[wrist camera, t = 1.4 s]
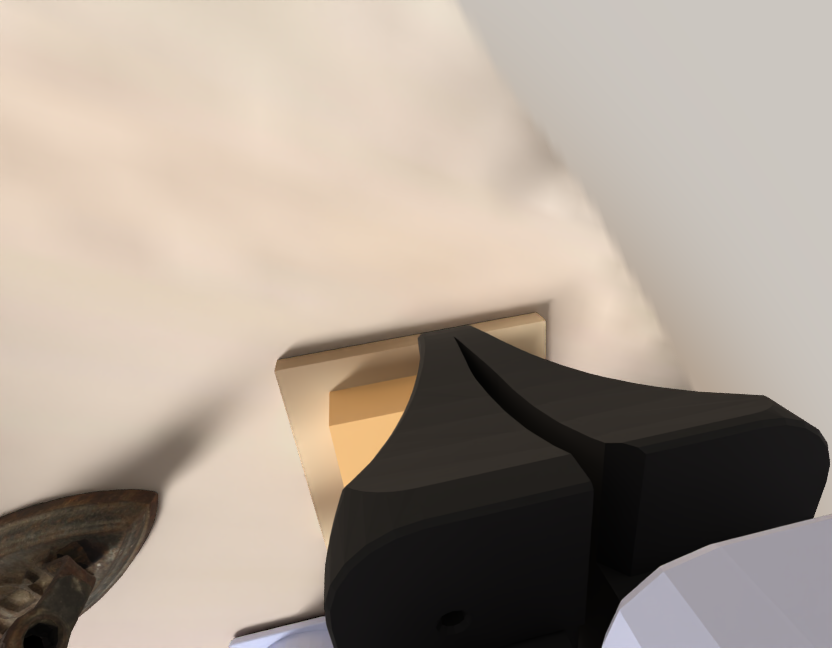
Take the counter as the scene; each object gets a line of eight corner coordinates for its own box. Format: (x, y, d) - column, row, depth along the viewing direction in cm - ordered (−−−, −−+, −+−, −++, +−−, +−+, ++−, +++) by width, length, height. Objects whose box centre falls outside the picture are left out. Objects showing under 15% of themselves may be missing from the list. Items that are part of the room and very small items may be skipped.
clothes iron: (-94, 565, 21) (-384, 826, 12) (116, 413, 23) (9, 536, 13) (29, 644, 23) (-132, 915, 14) (211, 502, 25) (177, 659, 16)
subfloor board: (537, 559, 28) (544, 573, 27) (347, 606, 26) (348, 623, 26) (536, 312, 21) (545, 320, 20) (277, 359, 19) (274, 371, 18)
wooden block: (508, 459, 23) (527, 495, 20) (353, 493, 22) (355, 535, 20) (504, 357, 20) (525, 386, 18) (329, 391, 19) (328, 426, 17)
